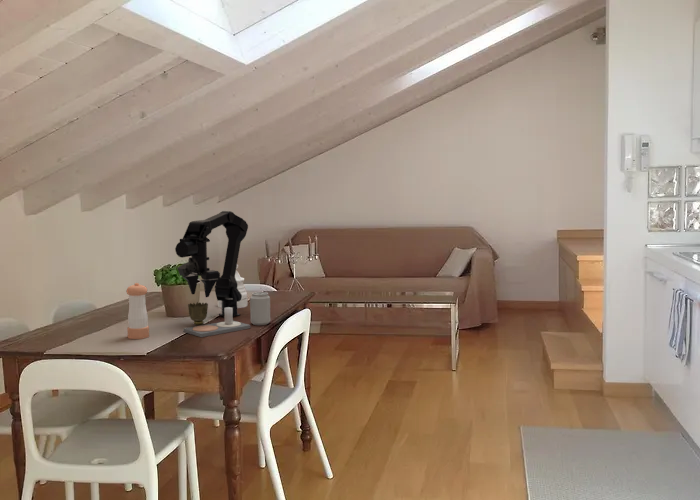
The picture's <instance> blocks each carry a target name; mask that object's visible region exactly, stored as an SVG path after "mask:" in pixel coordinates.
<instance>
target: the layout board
mask: <svg viewBox="0 0 700 500" xmlns="http://www.w3.org/2000/svg"><path fill="white" fill-rule="evenodd" d="M224 316H225V317H224ZM224 316H223V317H224V321H219V322H218V321H217V322H214V323H208V324H202V325H194V326H190V327H184V328H183V333H185V334H190V335H192V336H196V337H198V338H205V337H211V336H215V335H221V334H226V333H231V332H232V333H233V332H237V331H242V330H247V329H251V324H248V323H244V322H241V321H240V322H239V321H237V320H234V319H233V318H234V316H233V308H232V307H226V308H224Z"/></svg>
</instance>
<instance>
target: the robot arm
mask: <svg viewBox="0 0 700 500" xmlns="http://www.w3.org/2000/svg"><path fill="white" fill-rule="evenodd" d="M187 225H188V226H187V228H186V230H185V232H184V234H183V237H182V238H179V242H178V243H177V244H176V246H175V248H174V249H175V253H176V255H177V256H178V257H179V258H188V262H185V263H183V264H182V265H179V266H178V267H177V268H176V269H177V271H178V274H179V276H180V277H181V278H183V279H184V280H185V281H186V282H187V285H188V287H189V291H190V292H191V293H190V294H191V295H195V293H196V290H197V286H198V281H199V276H200V278H201V279H200V282H201V283H203V288H204V295H205V298H209V297H210V295H211V293H212V291H213V288H214V292H215V296H216V300H217V301H218V300H221V301H222V308H221V313H218V316H221V317H223V318H225V316H224V308H226V307H232V308H233V317H237V316H241V313H238V308H237V301H240V300H241V297H242V295H241V293H240V292H239V291H238V289H237V281H236V279H235V272H236V270H237V269H236V267H237V265H238V260H239V253H240V248H241V243H242V241H243V240H244V239H245V237H246V236H247V232H248V229H249V225H248V223H247V221H246V220H244V219H243V218H242V217H240V216H238V215H237V214H235V213H234V212H233V211H229V210H227V211H226V210H222V211H221V212H219V213H217V214H214V215H212V216H210V217H208V218H206V219H201V220H191V221H190V222H189V223H188V224H187ZM220 226H223V227H224V228H225V235H226V238H227V241H228V242H227V246H226V253H225V256H224V257H225V258H224V259H225V260H224V262H223V271H222V273H220V271H219V270H214V269H212V270H210V267H208V261H210V257H209V256H208V249H207V247H208V246H207V243H209V242H211V240H210V238H208V236H209V235H210V234H211V233H212V231H213V230H214V229H216V228H218V227H220ZM221 274H222V275H221Z"/></svg>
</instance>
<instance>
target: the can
mask: <svg viewBox="0 0 700 500" xmlns="http://www.w3.org/2000/svg"><path fill="white" fill-rule="evenodd" d="M249 306H250V307H249V308H250V309H249V311H250V323H251V324H253V326H254V325H255V326H266V325H268V324H269V323H271V296H269V292H266V291H256V292H252V293H251V295H250V297H249Z"/></svg>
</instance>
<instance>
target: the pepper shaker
mask: <svg viewBox="0 0 700 500" xmlns="http://www.w3.org/2000/svg"><path fill="white" fill-rule="evenodd" d="M147 293H148V288H147V287H146V286H145V285H143V284H140V283H139V282H134V284H131V285H129V286H128V287H127V289H126V294H127V295H128V306H129V307H128V315H127V322H128V327H127V329H126V330H127V338H128V339H131V340H142V339H147V338H149V337H150V326H149V324H148V321H149V318H148V317H149V316H148V312H147V311H148V310H147V306H146V304H147V303H146V294H147Z"/></svg>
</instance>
